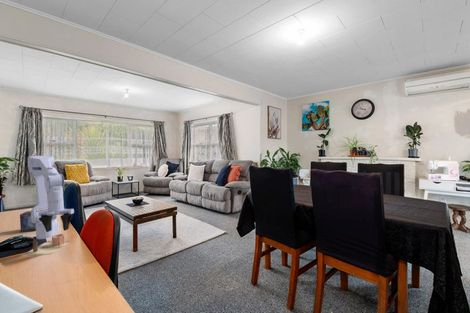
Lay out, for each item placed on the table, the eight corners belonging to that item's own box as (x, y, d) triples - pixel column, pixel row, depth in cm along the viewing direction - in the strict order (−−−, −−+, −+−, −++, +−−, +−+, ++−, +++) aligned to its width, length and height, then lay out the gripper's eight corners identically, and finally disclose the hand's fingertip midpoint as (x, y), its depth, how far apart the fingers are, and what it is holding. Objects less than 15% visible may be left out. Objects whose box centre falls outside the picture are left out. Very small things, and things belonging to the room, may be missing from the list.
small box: (19, 232, 127) (18, 214, 126) (26, 228, 133) (26, 211, 133) (41, 230, 130) (40, 212, 129) (47, 226, 136) (47, 209, 136)
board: (48, 243, 111) (48, 230, 111) (73, 241, 112) (73, 229, 112) (20, 258, 95) (19, 244, 95) (50, 257, 96) (49, 243, 96)
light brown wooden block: (50, 244, 106) (50, 236, 106) (62, 240, 111) (62, 232, 111) (55, 246, 104) (55, 238, 104) (67, 242, 108) (67, 234, 108)
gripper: (31, 204, 98) (33, 234, 97) (65, 201, 98) (67, 232, 98) (44, 201, 105) (46, 229, 104) (76, 198, 105) (78, 227, 105)
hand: (57, 230), depth 102 cm, fingers open, 7 cm apart
